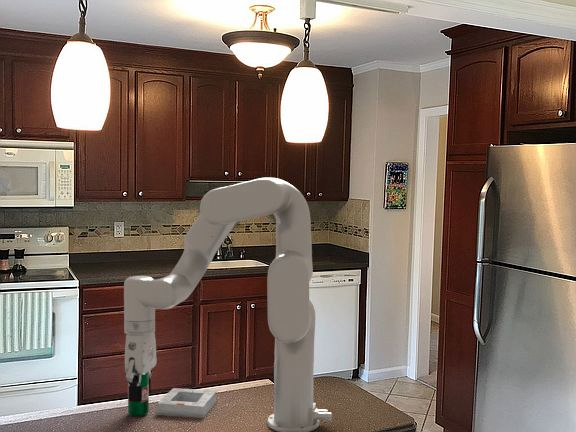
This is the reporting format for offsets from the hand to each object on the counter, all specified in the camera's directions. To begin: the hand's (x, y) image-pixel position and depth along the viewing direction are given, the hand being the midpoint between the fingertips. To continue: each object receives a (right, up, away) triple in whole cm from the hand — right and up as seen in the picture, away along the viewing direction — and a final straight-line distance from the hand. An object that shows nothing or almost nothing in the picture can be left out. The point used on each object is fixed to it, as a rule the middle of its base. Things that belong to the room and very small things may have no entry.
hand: (140, 396), depth 157 cm
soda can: (0, -5, 0) cm, 5 cm away
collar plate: (+11, -4, +5) cm, 13 cm away
